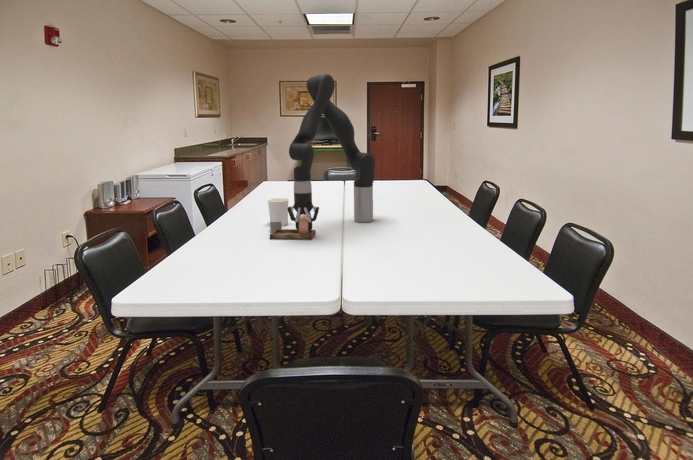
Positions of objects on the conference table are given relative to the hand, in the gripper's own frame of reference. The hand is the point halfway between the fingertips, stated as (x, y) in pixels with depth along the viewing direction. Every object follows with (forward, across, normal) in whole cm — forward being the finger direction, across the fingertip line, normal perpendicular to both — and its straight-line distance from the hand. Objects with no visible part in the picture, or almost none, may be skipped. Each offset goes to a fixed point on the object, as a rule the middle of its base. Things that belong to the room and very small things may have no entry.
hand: (304, 230), depth 205 cm
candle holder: (+3, +17, -22) cm, 28 cm away
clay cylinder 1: (+3, +3, -9) cm, 10 cm away
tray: (+3, +5, 0) cm, 6 cm away
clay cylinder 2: (+2, 0, 0) cm, 2 cm away
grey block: (+3, +15, -9) cm, 18 cm away
